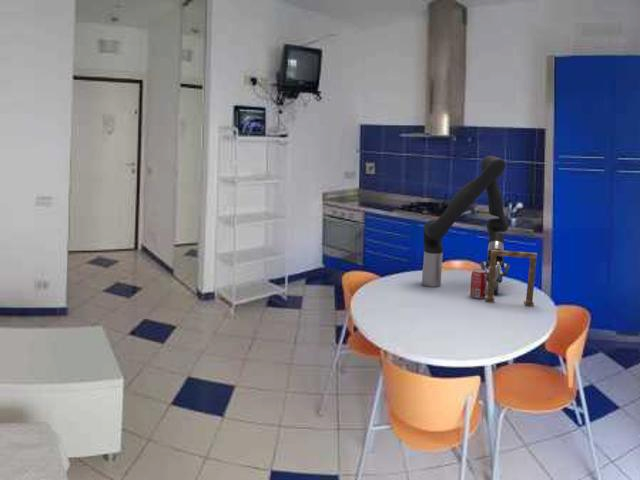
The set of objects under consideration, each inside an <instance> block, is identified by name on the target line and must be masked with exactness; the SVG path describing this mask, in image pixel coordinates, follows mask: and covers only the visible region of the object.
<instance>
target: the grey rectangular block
mask: <svg viewBox="0 0 640 480" xmlns="http://www.w3.org/2000/svg"><path fill="white" fill-rule="evenodd" d="M499 273H500V266H499V265H496V268H495V280H494V292H493V296H497V295H498V294H499V284H500V283H499Z"/></svg>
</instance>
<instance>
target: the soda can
mask: <svg viewBox="0 0 640 480" xmlns="http://www.w3.org/2000/svg"><path fill="white" fill-rule="evenodd" d="M486 271H487V270H486V269H485V270H482V269H481V268H475V269H472V272H471V274H470V290H469V291H470V293H469V296H470V297H472V298H473V299H477V300H482V299H485V297H487V296H486V295H487V286H488V285H487V283H488V282H487V273H486Z"/></svg>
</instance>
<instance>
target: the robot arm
mask: <svg viewBox="0 0 640 480" xmlns="http://www.w3.org/2000/svg"><path fill="white" fill-rule="evenodd" d="M480 167H481V173H480V174H479V175H478V176H477V177H476V178H474V179H472V180H471V181H470V182H468V183H466V184H465V185H463V186H462V187H461V188H459V190H458V191H457V192H455V194H454V195H453V197H452V198H451V199H450V201H449V203H448V205H447V207H446V209H445V211H444V212H443V213H442V215H440V216H439V218H437V219H429V220H428V221H427V222H425V224H424V228H423V266H422V275H421V276H422V277H421V285H422V286H427V287H429V288H430V287H433V288H435V287H440V286H441V284H442V272H443V271H442V269H443V256H444V254H443V253H444V252H443V251H444V246H443V242H442V239H443V238H444V237H445V236H446V234H447V233H448V231H450V229H451V228H452V226H453V225H454V224H455V222H456V221H457V220H458V219H459V218H460V217H461V216H462V215H463V214H464V213H465V212H466V211H467V210H468V209H469V208H470V207H471V206H472V205H473V204H474V202H475V201H476V200H477V199H478V197H480V195H482V194H483V193H484V191H485V190H486V195H487V202H488V203H487V206H488V213H489V215H491V216H494V217H497V218H489V219H488V220H487V221H486V225H485V226H486V229H487V232H488V246H487V257H486V258H487V260H486V261H480V269H482V270H486V268H485V267H486V266H487V270H486V273H487V283H488V281H489V269H490V257H491V250H503V251H505V250H504V249H505V247H504V243H505V242H504V241H505V239H504V234H503V233H505V232H507V231H508V229H509V222H508V220H507V218H506V215H505V211H504V201H503V196H502V192H501V190H500V186H499V184H498V180H497V179H498V178H499V177H500V176H501V175H502V174H503V173H504V171H505V169H506V161H505V160H504V159H503V158H501V157H498V156H494V155H487V156H484V158H482V161H481V164H480ZM496 265H499V266H500V273H499V284H501V283H502V282H503V277H507V274H508V271H509V269H510V266H511V265H510V263H505V262H504V256H496ZM503 267H504V271H503V270H502V268H503Z"/></svg>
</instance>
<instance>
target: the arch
mask: <svg viewBox="0 0 640 480" xmlns="http://www.w3.org/2000/svg"><path fill="white" fill-rule="evenodd" d="M496 256H503V257H508V258H509V257H510V258H521V259H524V258H526V259H529V265H528V266H529V267H528V278H527V287H526V298H525V300H524V301H523V305H525V306H524V307H531V306H534V307H535V304H534V301H533V298H534V288H535V279H536V269H537V258H538V253H537V252H528V251H527V252H526V251H517V250H504V251H503V250H491V257H490V269H489V281H488V282H487V283H488V285H487V293H486V295H487V296H485V297H484V302H485V303H495V297H494V295H493V292H494V280H495V268H496Z"/></svg>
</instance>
